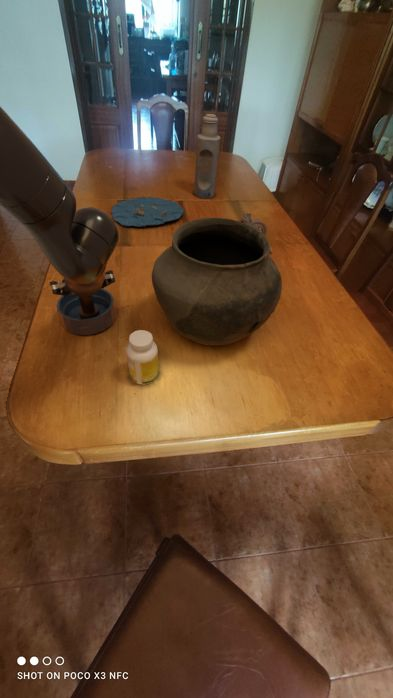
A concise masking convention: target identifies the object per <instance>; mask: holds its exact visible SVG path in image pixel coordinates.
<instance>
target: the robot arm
mask: <svg viewBox="0 0 393 698" xmlns="http://www.w3.org/2000/svg"><path fill="white" fill-rule="evenodd" d="M0 206H1V207H2V208H3V209H4V210H5V211H7V213H9V215H11V216H12V217H14V219H16V221H18V222H19V223H21V225H23V226H24V227H25V228H26V229H27V232H29V233H30V235H31V236H32V238H33V239H34V240H35V242H36V243H37V245H38V246H39V249H41V251H42V253H43V254H44V256H45V257H46V259H47V260H48V262H49V263H50V265H51V266H52V267H53V268H54V270H56V272H57V273H58V274H59V275H60V276H62V277H63V279H62V280H60V281H59V280H58V281H57V280H55V281H54V280H51V281H49V285H50V289H51V292H52V295H57V296H68V295H69V293H71V294H72V295H75V296H82V297H88V296H92V295H94V294H96V293H97V292H98V291H99V290H100V289H101V288H103V289H105V288H107V287H108V286H110V285H111V284H114V283H116V277H115V275H114V271H113V270H111V269H109V270H107V265H108V262H109V260H110V258H111V257H112V255H113V254H114V252H115V251H116V248H117V246H118V244H119V242H120V233H119V228H118V227H117V224H116V222H115V220H114V219H113V218H112V217H111V216H109V214H108V213H107V212H105V211H103V210H101V209H99V208H96V207H94V206H93V207H92V206H83V207H80V208H78V209H77V199H76V196H75V194H74V192H73V190H72V189H71V188H70V186H69V185H68V183H67V182H66V181H65V180H64V178H62V176H61V175H60V174H59V173H58V171H57V170H56V169H55V168H54V167H53V165H52V164H51V163H50V161H49V160H48V159H47V158H46V156H45V155H44V153H42V152H41V150H40V149H39V148H38V147H37V145H35V144H34V142H33V141H32V140H31V139H30V138H29V136H28V135H26V133H25V132H24V131H23V130H22V129H21V127H20V126H19V125H18V124H17V123H16V121H14V120H13V119H12V117H11V116H10V115H9V114H8V113H7V112H6V110H5V109H3V108H2V106H0ZM106 270H107V271H106Z"/></svg>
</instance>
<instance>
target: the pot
mask: <svg viewBox="0 0 393 698" xmlns="http://www.w3.org/2000/svg"><path fill="white" fill-rule="evenodd" d="M259 230H260V229H259ZM259 230H258V229H256V228H254V227H252V226H250V225H247V224H244V223H243V221H242V222H241V221H238V220H236V219H231V218H224V217H201V218H196V219H191V220H190V221H186V222H185V223H183V224H182V225H180V226H178V228H176V230H175V231H174V233H173V234H172V237H171V245H169V246H168V247H167V248H166V249H164V250H163V251H162V253H161V254H160V255H158V257H157V258H156V259H155V261H154V263H153V267H152V271H151V283H152V287H153V291H154V294H155V297H156V300H157V301H158V303H159V305H160V307H161V309H162V312H163V314H164V315H165V317H166V318H167V320H168V321H169V323H170V325H171V326H172V328H173V330H175V331H176V332H177V334H179V335H180V336H182V337H183V338H185V339H188V340H190V341H192V342H195V343H198V344H200V345H206V346H224V345H230V344H233V343H236V342H240V341H241V340H242V339H245V338H246V337H249V336H250V335H252V334H254V333H255V332H257V330H259V329H260V328H261V327H262V326H264V325H265V323H266V322H267V321H268V320H269V318H270V317H271V316H272V315H273V313H275V310H276V308H277V307H278V303H279V302H280V299H281V295H282V289H283V281H282V275H281V271H280V269H279V268H278V266H277V264H276V262H275V261H274V260H273V259H272V258H271V256H270V254H269V252H270V246H271V245H270V241H269V240H268V238H267V236H265V235H264V234H263V233H261V232H262V231H259ZM269 245H270V246H269Z"/></svg>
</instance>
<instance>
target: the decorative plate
mask: <svg viewBox="0 0 393 698" xmlns="http://www.w3.org/2000/svg"><path fill="white" fill-rule="evenodd" d="M110 212H111V214H112V219H113V221H114V222H118V223H119V224H120V225H121V226H125V227H131V226H133V227H139V228H140V227H141V228H142V227H144V228H145V227H146V226H158V225H163V224H165V223H166V222H170V221H174V220H175V221H176V220H177V219H180V218H181V217H182V215H183V214H184V208H183V207H182V206H181V204H179V203H178V202H176V201H173V200H171V199H166V198H161V197H153V196H140V197H134V198H131V199H127V200H121V201H119V202H117V203H115V204H114V205H113V206H112V209H111V211H110Z"/></svg>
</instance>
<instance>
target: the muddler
mask: <svg viewBox="0 0 393 698" xmlns="http://www.w3.org/2000/svg"><path fill="white" fill-rule="evenodd" d="M79 300H80V304H81V307H80V308H79V315H80V319H88V318H92V317H96V316H98V315H100V313H99V308H98V306H97V305H95V304H94V303H93V298H92V296H88V297H82V296H79Z"/></svg>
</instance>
